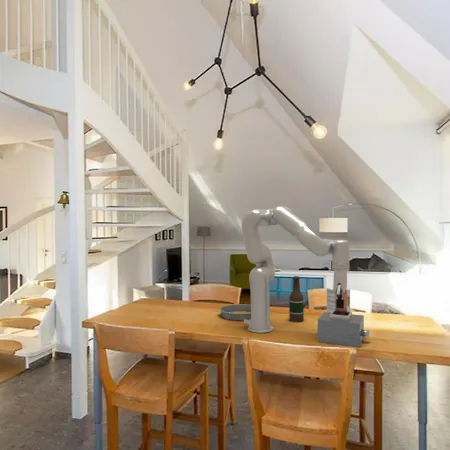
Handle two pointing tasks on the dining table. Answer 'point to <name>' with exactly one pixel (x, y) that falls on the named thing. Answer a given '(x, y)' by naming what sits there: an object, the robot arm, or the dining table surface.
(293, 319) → the beer bottle
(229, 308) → the cake pan
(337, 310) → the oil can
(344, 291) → the robot arm
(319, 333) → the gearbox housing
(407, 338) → the dining table surface
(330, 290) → the supplement box
